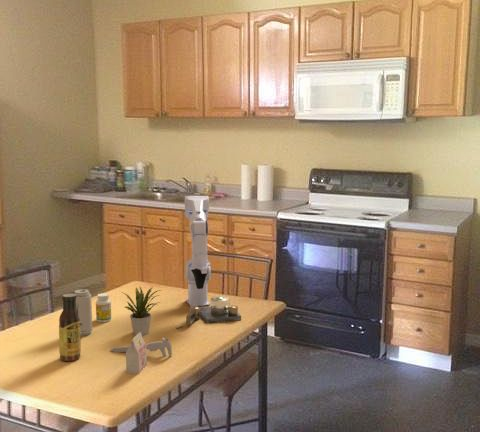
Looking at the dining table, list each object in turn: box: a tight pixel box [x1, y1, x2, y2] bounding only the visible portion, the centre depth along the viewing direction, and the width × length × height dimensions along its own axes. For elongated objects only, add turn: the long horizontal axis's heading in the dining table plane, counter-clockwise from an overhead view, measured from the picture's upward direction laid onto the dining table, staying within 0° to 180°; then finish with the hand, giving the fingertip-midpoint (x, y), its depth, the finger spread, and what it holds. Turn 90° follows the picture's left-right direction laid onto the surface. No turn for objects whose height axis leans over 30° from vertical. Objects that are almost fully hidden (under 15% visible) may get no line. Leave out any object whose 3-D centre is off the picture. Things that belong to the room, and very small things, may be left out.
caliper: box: [109, 337, 173, 358], centre depth 180 cm, size 20×1×6 cm, turn 77°
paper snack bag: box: [125, 332, 148, 375], centre depth 168 cm, size 4×7×10 cm, turn 169°
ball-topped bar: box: [185, 306, 201, 326], centre depth 209 cm, size 11×4×4 cm, turn 170°
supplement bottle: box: [95, 292, 112, 323], centre depth 211 cm, size 5×5×10 cm
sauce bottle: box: [58, 293, 82, 362], centre depth 175 cm, size 6×6×20 cm
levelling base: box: [176, 295, 242, 330], centre depth 213 cm, size 17×25×7 cm
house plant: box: [121, 285, 163, 336], centre depth 197 cm, size 14×14×16 cm
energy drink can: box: [73, 288, 93, 337], centre depth 197 cm, size 6×6×15 cm
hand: (199, 288), depth 216 cm, fingers closed
